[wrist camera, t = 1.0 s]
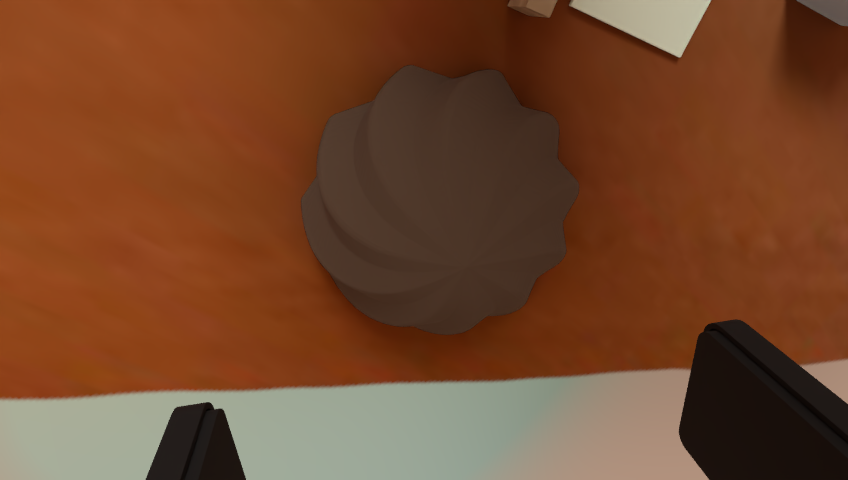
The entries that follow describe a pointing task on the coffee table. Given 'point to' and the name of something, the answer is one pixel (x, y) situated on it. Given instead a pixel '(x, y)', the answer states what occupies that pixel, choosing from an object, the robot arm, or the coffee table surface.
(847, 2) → the light gray cube
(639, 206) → the coffee table surface
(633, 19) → the pad
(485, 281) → the decorative dome
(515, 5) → the corner arena
